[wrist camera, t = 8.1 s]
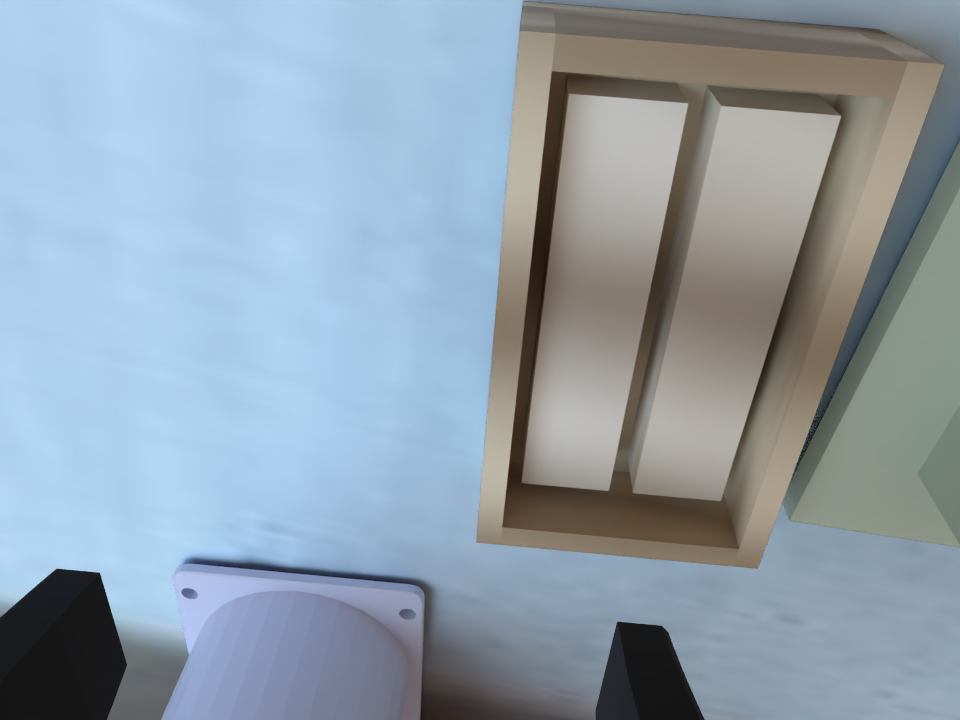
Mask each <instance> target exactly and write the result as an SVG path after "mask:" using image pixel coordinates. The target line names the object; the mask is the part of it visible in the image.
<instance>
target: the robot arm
mask: <svg viewBox="0 0 960 720" xmlns="http://www.w3.org/2000/svg"><path fill="white" fill-rule="evenodd" d="M172 581H173V586H174V590H175V594H176V599H177V603H178V608H179V612H180V617H181V621H182V626H183V630H184V635H185V639H186V644H187V648H188V653H189V657H188V660H187V662H186V664H185V667H184V669H183V671H182V673H181V676H180V678H179V680H178V683H177V685H176V687H175V689H174V692H173V694H172V696H171V699H170V701H169V703H168V706H167V708H166V710H165V712H164V715H163V717H162V719H161V720H420V719H421V691H422V663H423V635H424V607H425V595H424V592H423V591H422V590H421V589H420V588H419V587H417V586H415V585H411V584H402V583H392V582H381V581H370V580H360V579H349V578H338V577H328V576H317V575H307V574H296V573H285V572H275V571H264V570H253V569H243V568H232V567H222V566H211V565H200V564H182V565H180V566H178V568H177V569H176V571H175V573H174V575H173V578H172ZM408 609H410V610H408ZM126 666H127V663H126V660H125V656H124V653H123V650H122V646H121V643H120V640H119V636H118V633H117V629H116V626H115V623H114V619H113V616H112V613H111V609H110V606H109V602H108V599H107V596H106V592H105V589H104V585H103V582H102V579H101V575H100V573H96V572H86V571H75V570H65V569H56V570H55V571H53V572H52V573H51V574H50V575H49V576H47V577H46V578H45V579H44V580H43V581H42V582H40V583H39V584H38V585H37V586H36V587H35V588H33V589H32V590H31V591H30V592H29V593H28V594H27V595H25V596H24V597H23V598H22V599H21V600H20V601H19V602H17V603H16V604H15V605H14V606H13V607H12V608H11V609H9V610H8V611H7V612H6V613H5V614H4V615H3V616H1V617H0V720H107V717H108V715H109V712H110V710H111V707H112V705H113V702H114V699H115V696H116V694H117V691H118V688H119V685H120V683H121V680H122V677H123V674H124V672H125V669H126ZM596 720H704V717H703V715H702V713H701V711H700V709H699V707H698V704H697V702H696V700H695V698H694V695H693V693H692V691H691V688H690V686H689V684H688V682H687V679H686V677H685V674H684V672H683V670H682V667H681V665H680V662H679V660H678V657H677V655H676V652H675V650H674V647H673V644H672V642H671V639H670V636H669V633H668V632H667V631H666V630H665V629H664V628H663V627H662V626H657V625H647V624H636V623H625V622H617V625H616V629H615V633H614V637H613V642H612V646H611V650H610V654H609V658H608V662H607V666H606V670H605V675H604V679H603V683H602V687H601V691H600V695H599V699H598V703H597V707H596Z"/></svg>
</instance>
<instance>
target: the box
mask: <svg viewBox="0 0 960 720" xmlns="http://www.w3.org/2000/svg"><path fill="white" fill-rule="evenodd" d="M944 67H945V64H943V63H941V62H940V61H938V60H936V59H934V58H932V57H930V56H928V55H926V54H924V53H923V52H921V51H919V50H917V49H915V48H913V47H911V46H909V45H908V44H906V43H904V42H902V41H900V40H898V39H896V38H894V37H893V36H891V35H889V34H887V33H885V32H883V31H881V30H879V29H867V28H854V27H842V26H829V25H816V24H804V23H791V22H778V21H766V20H753V19H740V18H728V17H715V16H702V15H689V14H677V13H664V12H651V11H639V10H626V9H613V8H601V7H588V6H575V5H563V4H550V3H537V2H525V1H523V6H522V15H521V23H520V32H519V44H518V56H517V68H516V80H515V92H514V103H513V115H512V127H511V139H510V151H509V162H508V174H507V186H506V198H505V210H504V221H503V233H502V245H501V257H500V269H499V280H498V292H497V304H496V316H495V328H494V339H493V351H492V363H491V375H490V387H489V398H488V410H487V422H486V434H485V446H484V457H483V469H482V481H481V493H480V505H479V517H478V528H477V540H476V542H477V543H488V544H498V545H509V546H520V547H531V548H541V549H552V550H563V551H574V552H585V553H595V554H606V555H617V556H628V557H638V558H649V559H660V560H671V561H681V562H692V563H703V564H714V565H725V566H735V567H746V568H757V569H758V566H759V564H760V561H761V558H762V556H763V553H764V550H765V548H766V545H767V542H768V539H769V537H770V534H771V531H772V529H773V526H774V523H775V521H776V518H777V515H778V513H779V510H780V507H781V505H782V502H783V499H784V497H785V494H786V491H787V488H788V486H789V483H790V480H791V478H792V475H793V472H794V470H795V467H796V464H797V462H798V459H799V456H800V454H801V451H802V448H803V445H804V443H805V440H806V437H807V435H808V432H809V429H810V427H811V424H812V421H813V419H814V416H815V413H816V411H817V408H818V405H819V402H820V400H821V397H822V394H823V392H824V389H825V386H826V384H827V381H828V378H829V376H830V373H831V370H832V368H833V365H834V362H835V359H836V357H837V354H838V351H839V349H840V346H841V343H842V341H843V338H844V335H845V333H846V330H847V327H848V325H849V322H850V319H851V317H852V314H853V311H854V308H855V306H856V303H857V300H858V298H859V295H860V292H861V290H862V287H863V284H864V282H865V279H866V276H867V274H868V271H869V268H870V265H871V263H872V260H873V257H874V255H875V252H876V249H877V247H878V244H879V241H880V239H881V236H882V233H883V231H884V228H885V225H886V222H887V220H888V217H889V214H890V212H891V209H892V206H893V204H894V201H895V198H896V196H897V193H898V190H899V188H900V185H901V182H902V180H903V177H904V174H905V171H906V169H907V166H908V163H909V161H910V158H911V155H912V153H913V150H914V147H915V145H916V142H917V139H918V137H919V134H920V131H921V128H922V126H923V123H924V120H925V118H926V115H927V112H928V110H929V107H930V104H931V102H932V99H933V96H934V94H935V91H936V88H937V85H938V83H939V80H940V77H941V75H942V72H943V69H944Z"/></svg>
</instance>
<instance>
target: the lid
mask: <svg viewBox="0 0 960 720" xmlns="http://www.w3.org/2000/svg"><path fill="white" fill-rule="evenodd" d="M783 505H784V508H785V511H786V513H787V516H788V519H789V521H793V522H799V523H806V524H812V525H819V526H825V527H832V528H838V529H844V530H851V531H857V532H864V533H870V534H877V535H883V536H890V537H896V538H902V539H909V540H915V541H922V542H928V543H935V544H941V545H948V546H954V547H960V141H959V143H958V145H957V147H956V149H955V151H954V153H953V155H952V157H951V159H950V161H949V163H948V165H947V167H946V169H945V171H944V173H943V175H942V177H941V179H940V181H939V183H938V185H937V187H936V189H935V191H934V193H933V195H932V197H931V199H930V201H929V204H928V206H927V208H926V210H925V212H924V214H923V216H922V218H921V220H920V222H919V224H918V226H917V228H916V230H915V232H914V234H913V236H912V238H911V240H910V242H909V244H908V246H907V248H906V250H905V252H904V254H903V256H902V258H901V260H900V262H899V264H898V266H897V268H896V270H895V272H894V274H893V276H892V278H891V280H890V282H889V284H888V286H887V288H886V290H885V292H884V294H883V296H882V298H881V300H880V302H879V305H878V307H877V309H876V311H875V313H874V315H873V317H872V319H871V321H870V323H869V325H868V327H867V329H866V331H865V333H864V335H863V337H862V339H861V341H860V343H859V345H858V347H857V349H856V351H855V353H854V355H853V357H852V359H851V361H850V363H849V365H848V367H847V369H846V371H845V373H844V375H843V377H842V379H841V381H840V383H839V385H838V387H837V389H836V391H835V393H834V395H833V397H832V399H831V401H830V403H829V406H828V408H827V410H826V412H825V414H824V416H823V418H822V420H821V422H820V424H819V426H818V428H817V430H816V432H815V434H814V436H813V438H812V440H811V442H810V444H809V446H808V448H807V450H806V452H805V454H804V456H803V458H802V460H801V462H800V464H799V466H798V468H797V470H796V472H795V474H794V476H793V478H792V480H791V482H790V484H789V486H788V488H787V491H786V494H785V497H784V499H783Z"/></svg>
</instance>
